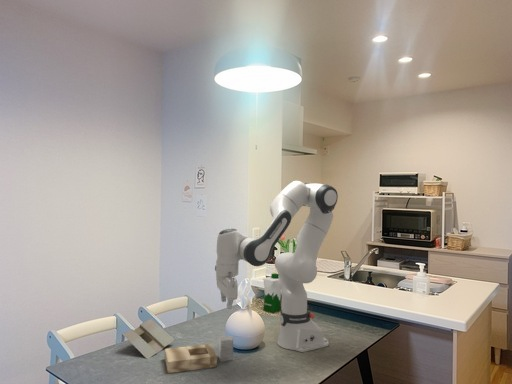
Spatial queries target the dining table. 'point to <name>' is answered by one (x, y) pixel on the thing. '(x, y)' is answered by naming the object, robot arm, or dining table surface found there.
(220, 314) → the dining table surface
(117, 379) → the dining table surface
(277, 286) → the milk carton
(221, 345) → the metal bracket bar
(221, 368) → the dining table surface
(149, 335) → the beige slotted box
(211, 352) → the oak well block
